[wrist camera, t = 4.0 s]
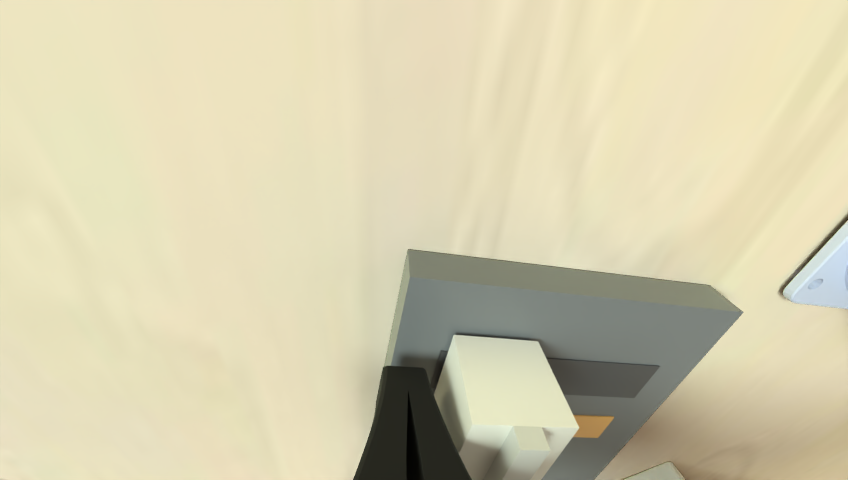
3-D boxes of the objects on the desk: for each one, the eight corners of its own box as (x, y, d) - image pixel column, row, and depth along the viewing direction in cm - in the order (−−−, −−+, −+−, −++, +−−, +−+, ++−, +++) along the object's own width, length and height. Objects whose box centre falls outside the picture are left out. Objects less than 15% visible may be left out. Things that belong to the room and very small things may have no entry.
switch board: (407, 249, 11) (410, 278, 10) (709, 285, 13) (745, 313, 12) (355, 508, 21) (353, 540, 19) (536, 506, 23) (545, 535, 21)
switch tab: (453, 334, 11) (477, 448, 8) (537, 341, 12) (590, 451, 9) (429, 407, 13) (440, 522, 10) (502, 410, 14) (534, 520, 11)
